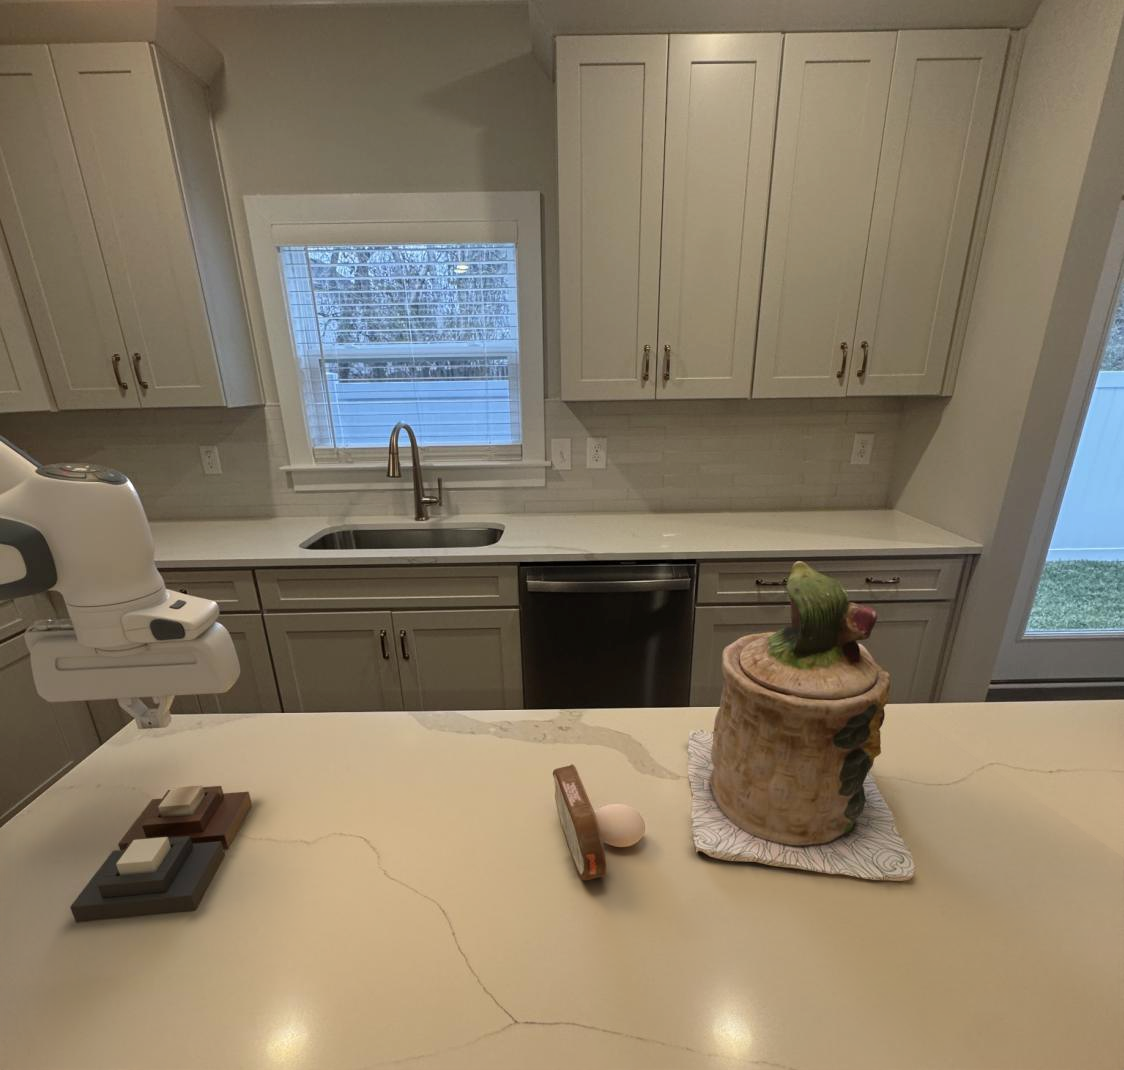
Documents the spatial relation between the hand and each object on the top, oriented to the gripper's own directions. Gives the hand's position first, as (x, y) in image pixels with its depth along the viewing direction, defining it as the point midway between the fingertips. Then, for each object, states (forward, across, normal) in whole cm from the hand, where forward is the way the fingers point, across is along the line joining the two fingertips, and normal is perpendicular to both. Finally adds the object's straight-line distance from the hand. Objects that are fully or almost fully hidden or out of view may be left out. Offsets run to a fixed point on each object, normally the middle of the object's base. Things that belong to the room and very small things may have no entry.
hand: (155, 725), depth 72 cm
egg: (+12, +57, -10) cm, 59 cm away
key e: (+12, +1, 0) cm, 12 cm away
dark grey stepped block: (+15, +1, -9) cm, 18 cm away
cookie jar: (+14, +76, -5) cm, 78 cm away
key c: (+12, +1, -9) cm, 15 cm away
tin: (+15, +48, -9) cm, 52 cm away
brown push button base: (+15, +1, 0) cm, 15 cm away
